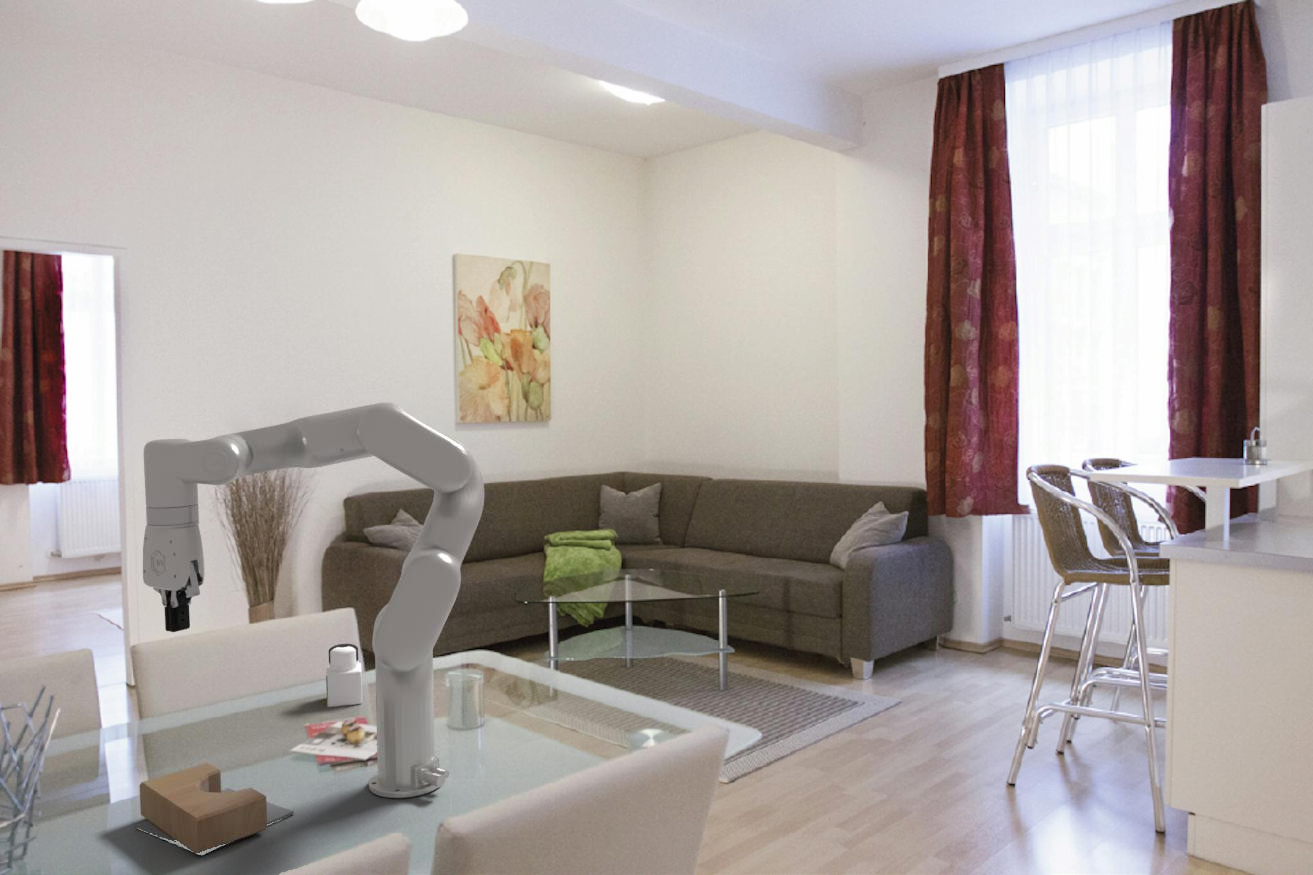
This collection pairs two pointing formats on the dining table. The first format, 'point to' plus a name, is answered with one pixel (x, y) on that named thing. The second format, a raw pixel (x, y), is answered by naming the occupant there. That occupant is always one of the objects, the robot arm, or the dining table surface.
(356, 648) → the medicine bottle
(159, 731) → the dining table surface
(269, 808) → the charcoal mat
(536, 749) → the dining table surface
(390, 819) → the dining table surface
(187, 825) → the decorative block
